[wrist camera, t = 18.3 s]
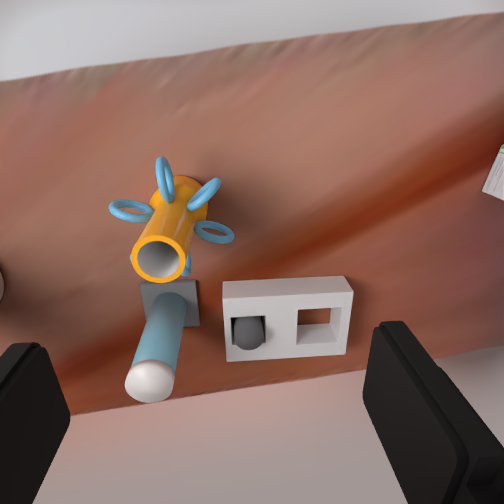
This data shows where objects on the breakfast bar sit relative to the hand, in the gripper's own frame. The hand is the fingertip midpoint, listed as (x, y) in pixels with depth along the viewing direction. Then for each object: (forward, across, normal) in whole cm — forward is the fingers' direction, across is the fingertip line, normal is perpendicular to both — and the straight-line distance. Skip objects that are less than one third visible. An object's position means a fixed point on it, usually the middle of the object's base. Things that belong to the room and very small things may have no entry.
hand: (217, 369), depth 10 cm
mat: (+30, +8, +18) cm, 36 cm away
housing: (+30, -7, +20) cm, 37 cm away
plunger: (+30, -2, +20) cm, 36 cm away
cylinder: (+31, +5, +4) cm, 31 cm away
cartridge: (+30, +8, +18) cm, 36 cm away
